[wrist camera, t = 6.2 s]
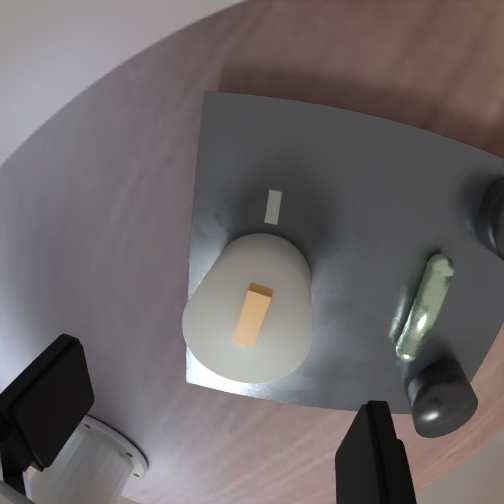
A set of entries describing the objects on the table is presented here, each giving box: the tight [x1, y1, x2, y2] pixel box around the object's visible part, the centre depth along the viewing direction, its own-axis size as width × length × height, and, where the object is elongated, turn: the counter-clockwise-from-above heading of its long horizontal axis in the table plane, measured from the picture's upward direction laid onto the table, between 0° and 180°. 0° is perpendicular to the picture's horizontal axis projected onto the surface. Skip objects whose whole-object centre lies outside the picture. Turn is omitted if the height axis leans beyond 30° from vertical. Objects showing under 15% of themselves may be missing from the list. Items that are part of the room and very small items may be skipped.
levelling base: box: [186, 91, 504, 438], centre depth 16 cm, size 18×20×5 cm
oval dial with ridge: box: [182, 233, 312, 384], centre depth 14 cm, size 5×5×6 cm
